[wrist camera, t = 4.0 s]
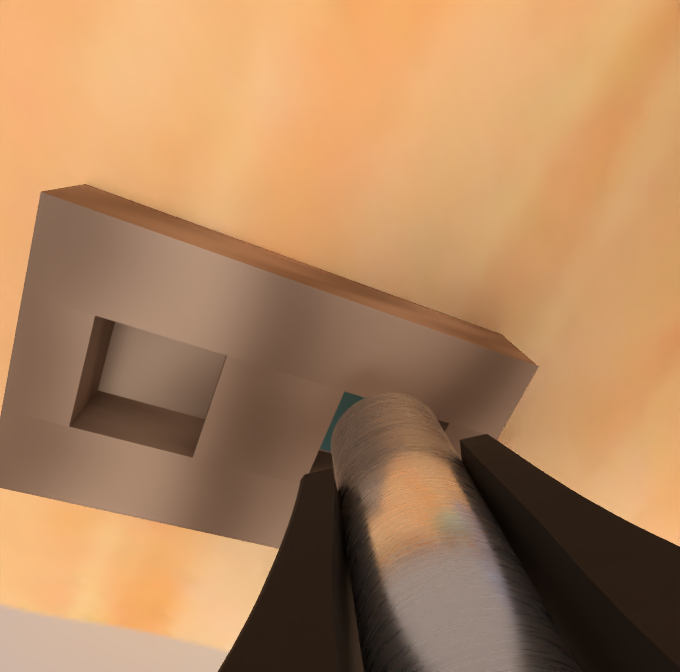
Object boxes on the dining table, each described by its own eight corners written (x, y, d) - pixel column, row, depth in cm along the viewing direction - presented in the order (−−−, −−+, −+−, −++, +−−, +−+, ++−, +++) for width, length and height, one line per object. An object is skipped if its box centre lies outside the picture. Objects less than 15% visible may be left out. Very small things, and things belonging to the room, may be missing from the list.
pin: (438, 384, 12) (633, 673, 5) (442, 480, 13) (608, 824, 6) (324, 401, 11) (373, 720, 5) (336, 496, 12) (391, 869, 6)
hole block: (502, 335, 19) (538, 366, 16) (401, 524, 22) (417, 578, 19) (84, 184, 16) (41, 191, 13) (33, 434, 19) (-12, 485, 16)
